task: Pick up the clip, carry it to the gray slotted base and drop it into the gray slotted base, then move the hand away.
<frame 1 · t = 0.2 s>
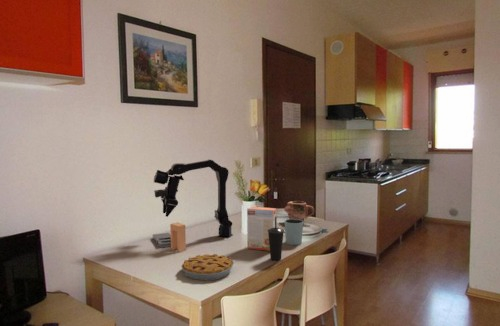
hand: (165, 214, 196), 15 cm above the table, tool tilted 15°, fingers open, 9 cm apart
gray slotted base: (163, 240, 201), on the table
clip: (178, 249, 186), on the table
blue gray cylindrical container: (293, 243, 196), on the table
cracker box: (262, 249, 186), on the table
pie: (208, 272, 156), on the table
drinking cup: (275, 259, 170), on the table
brown teapot: (299, 223, 240), on the table
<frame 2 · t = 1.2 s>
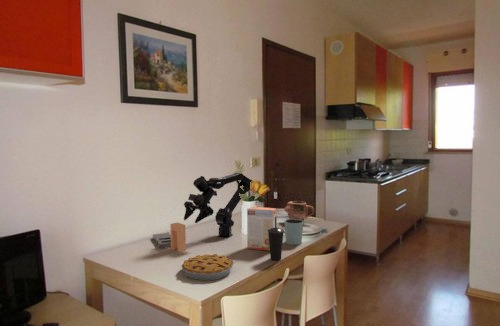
hand: (189, 221, 190), 13 cm above the table, tool tilted 45°, fingers open, 9 cm apart
nothing on the table moved.
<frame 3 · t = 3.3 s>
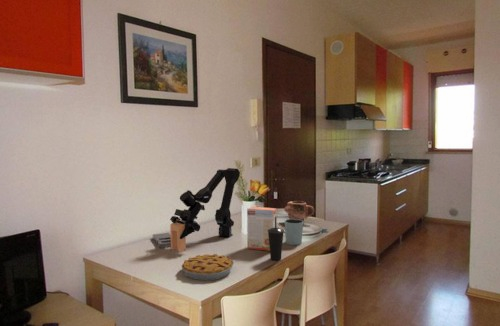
hand: (175, 237, 184), 7 cm above the table, tool tilted 45°, fingers closed on clip, 7 cm apart
clip: (178, 249, 185), on the table, touching gripper
everything else where it was.
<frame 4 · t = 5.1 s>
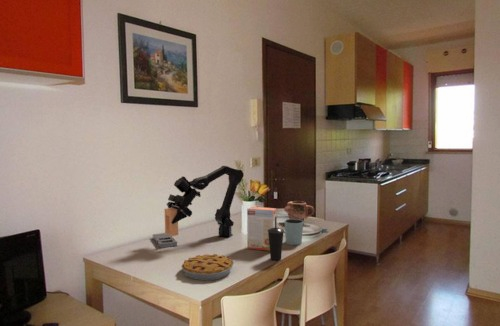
hand: (168, 222, 187), 13 cm above the table, tool tilted 45°, fingers closed on clip, 7 cm apart
clip: (171, 234, 189), point 7 cm above the table, touching gripper
everything else where it was.
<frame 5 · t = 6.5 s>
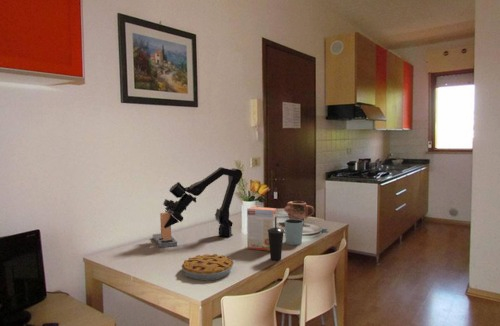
hand: (163, 225, 194), 10 cm above the table, tool tilted 45°, fingers closed on clip, 7 cm apart
clip: (166, 237, 195), point 3 cm above the table, touching gripper
everything else where it was.
when the fingers open (9 cm above the table, at t = 7.3 s): clip drops 2 cm, resting in gray slotted base.
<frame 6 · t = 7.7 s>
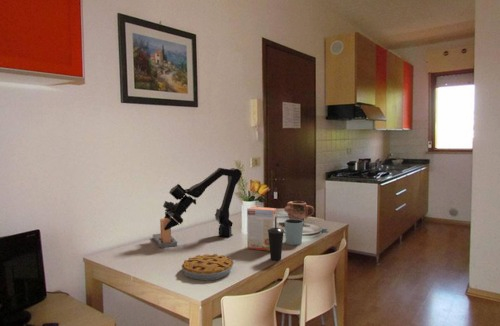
hand: (162, 227, 194), 9 cm above the table, tool tilted 45°, fingers open, 9 cm apart
clip: (165, 243, 196), resting in gray slotted base
everything else where it was.
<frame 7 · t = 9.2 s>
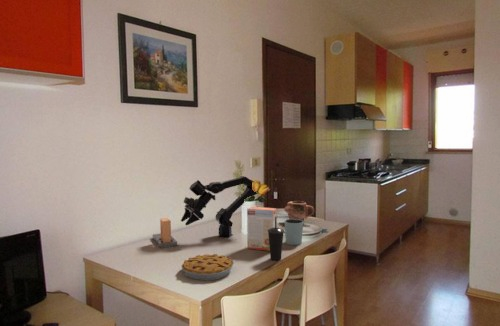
hand: (183, 223, 199), 10 cm above the table, tool tilted 45°, fingers open, 9 cm apart
nothing on the table moved.
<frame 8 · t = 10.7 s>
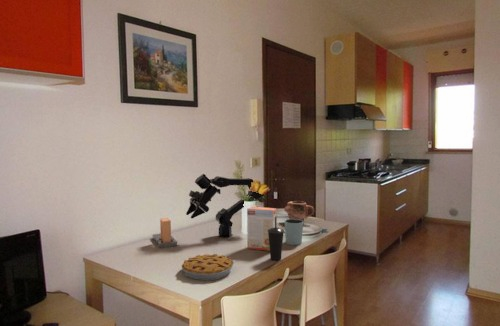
hand: (188, 216, 200), 14 cm above the table, tool tilted 45°, fingers open, 9 cm apart
nothing on the table moved.
at the end: clip 0.0 cm from the target spot, resting in gray slotted base; clip tilted 0°; the gripper is holding nothing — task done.
